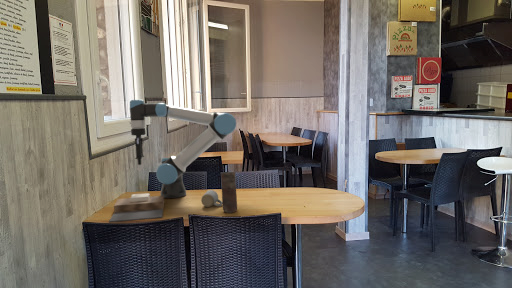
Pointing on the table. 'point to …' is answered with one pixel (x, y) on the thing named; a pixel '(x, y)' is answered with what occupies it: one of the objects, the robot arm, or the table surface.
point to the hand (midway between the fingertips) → (140, 169)
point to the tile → (140, 197)
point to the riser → (139, 204)
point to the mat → (136, 215)
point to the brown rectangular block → (229, 192)
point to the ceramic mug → (210, 199)
